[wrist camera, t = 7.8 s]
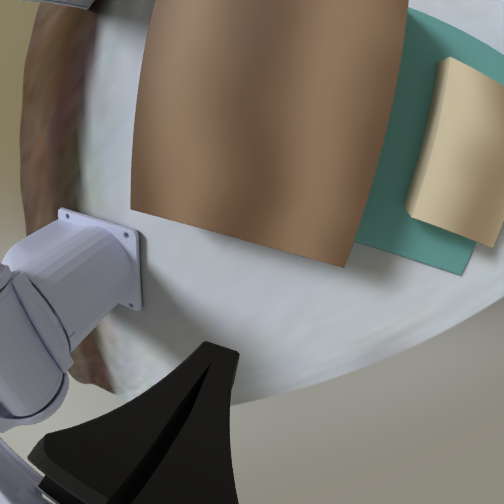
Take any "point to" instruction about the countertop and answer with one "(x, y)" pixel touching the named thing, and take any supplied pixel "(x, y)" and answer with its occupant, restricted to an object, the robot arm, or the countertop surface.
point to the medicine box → (69, 3)
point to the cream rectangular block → (461, 156)
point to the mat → (419, 144)
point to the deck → (266, 117)
